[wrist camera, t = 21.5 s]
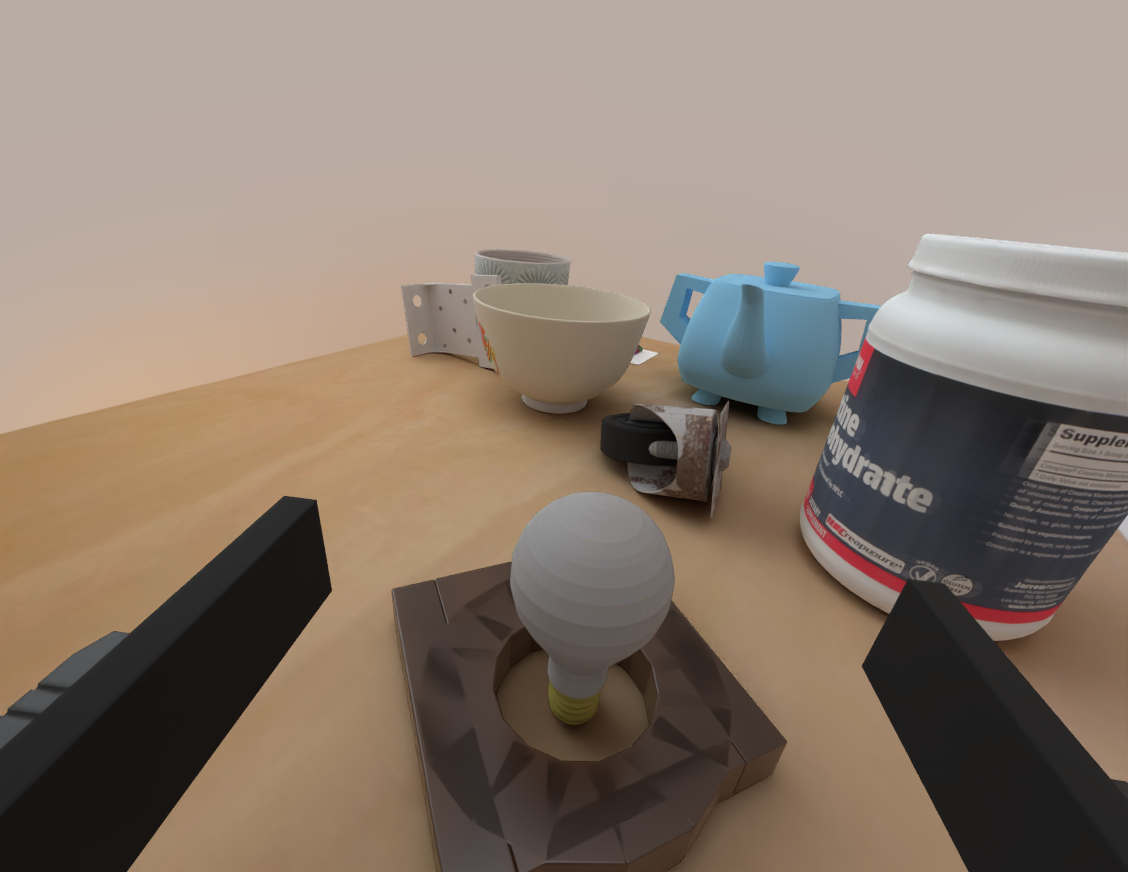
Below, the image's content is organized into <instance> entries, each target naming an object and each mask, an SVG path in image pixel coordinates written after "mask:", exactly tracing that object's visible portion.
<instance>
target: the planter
mask: <svg viewBox="0 0 1128 872" xmlns="http://www.w3.org/2000/svg"><path fill="white" fill-rule="evenodd" d="M474 256H475V275H501V284H514V283H539V284H558V285H568V277H569V269H570V260H569V259H568V258H565V257H562V256H558V255H553V254H548V253H541V252H532V251H522V250H505V249H491V250H490V249H489V250H479V251H476V252H475V255H474ZM489 286H490V285H489Z"/></svg>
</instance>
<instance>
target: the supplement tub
mask: <svg viewBox="0 0 1128 872" xmlns="http://www.w3.org/2000/svg"><path fill="white" fill-rule="evenodd" d="M907 268H909V269H910V270H913V272H912V277H913V278H912V281H911V283H910V286H909V288H908V290H907V291H905V292H903V293H900V294H898V295H896V296H895V297H893V298H891V299H890V300H888V301H887V302H886V303H885V304H883V306H882V307H881V308H880V309H879V310H878V311H877V313H876V314H875V316H874V318H873V320H872V321H871V323H870V324H869V326H868V332H867V335H866V337H865V340H864V343H863V345H862V348H861V351H860V353H859V356H858V359H857V361H856V364H855V367H854V369H853V372H852V375H851V377H850V380H849V383H848V385H847V388H846V391H845V394H844V396H843V399H842V402H841V404H840V407H839V410H838V412H837V415H836V417H835V420H834V423H833V425H832V428H831V431H830V433H829V436H828V439H827V441H826V444H825V447H824V449H823V452H822V455H821V457H820V460H819V463H818V465H817V468H816V471H815V473H814V476H813V478H812V481H811V484H810V487H809V489H808V492H807V494H806V497H805V500H804V502H803V503H802V506H801V510H800V527H801V531H802V535H803V537H804V540H805V542H806V544H807V546H808V548H809V549H810V551H811V552H812V554H813V555H814V557H815V558H816V560H817V561H818V562H819V563H820V564H821V565H822V566H823V567H824V568H825V569H826V570H827V571H828V572H829V573H830V574H831V575H832V576H833V577H834V578H835V579H836V580H837V581H839V582H840V583H841V584H842V585H844V586H845V587H846V588H847V589H849V590H850V591H851V592H853V593H854V594H856V595H857V596H859V597H860V598H862V599H864V600H865V601H867V602H868V603H870V604H872V605H873V606H875V607H877V608H879V609H881V610H883V611H884V612H886V613H888V614H890V612H891V610H892V608H893V606H894V604H895V602H896V600H897V599H898V597H899V595H900V593H901V591H902V589H903V587H904V585H905V583H906V581H907V580H908V579H915V580H922V581H930V582H937V583H945V584H946V585H947V587H948V588H949V589H950V590H951V591H952V592H953V594H954V595H955V596H956V597H957V598H958V600H959V601H960V602H961V603H962V604H963V605H964V607H965V608H966V609H967V610H968V611H969V613H970V614H971V615H972V616H973V617H974V618H975V620H976V621H977V622H978V623H979V624H980V626H981V627H982V628H983V629H984V630H985V631H986V633H987V634H988V635H989V636H990V637H991V638H992V640H993V641H1004V640H1012V639H1017V638H1020V637H1024V636H1027V635H1030V634H1032V633H1034V632H1036V631H1038V630H1039V629H1041V628H1042V627H1044V626H1045V625H1047V624H1048V623H1049V622H1050V621H1051V619H1052V618H1053V615H1054V613H1055V612H1056V610H1057V609H1058V608H1059V606H1060V605H1061V604H1062V602H1063V601H1064V600H1065V598H1066V597H1067V595H1068V594H1069V593H1070V591H1071V590H1072V589H1073V588H1074V586H1075V585H1076V584H1077V582H1078V581H1079V580H1080V578H1081V577H1082V575H1083V574H1084V573H1085V571H1086V570H1087V568H1088V567H1089V566H1090V564H1091V563H1092V562H1093V560H1094V559H1095V558H1096V557H1097V555H1098V554H1099V553H1100V551H1101V550H1102V549H1103V547H1104V546H1105V545H1106V543H1107V542H1108V541H1109V539H1110V538H1111V537H1112V535H1113V534H1114V532H1115V531H1116V530H1117V528H1118V527H1119V526H1120V524H1121V523H1122V522H1123V520H1124V519H1125V518H1126V516H1127V515H1128V253H1123V252H1113V251H1103V250H1094V249H1084V248H1074V247H1064V246H1054V245H1044V244H1033V243H1024V242H1014V241H1004V240H993V239H984V238H973V237H964V236H953V235H940V234H926V235H924V236H922V238H921V240H920V242H919V245H918V247H917V250H916V252H915V255H914V257H913V259H912V260H911V261H910V262H909V263H908V265H907Z"/></svg>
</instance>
